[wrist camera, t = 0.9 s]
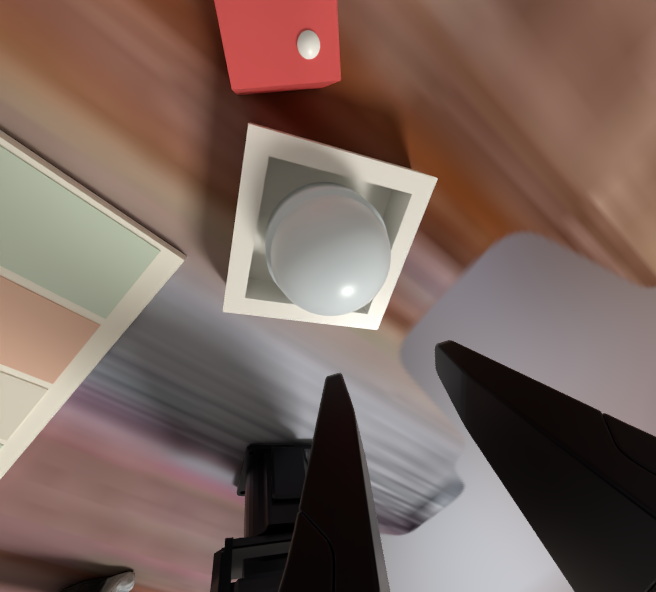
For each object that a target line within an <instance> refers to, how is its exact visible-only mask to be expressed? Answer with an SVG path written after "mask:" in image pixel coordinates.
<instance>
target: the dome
mask: <svg viewBox="0 0 656 592" xmlns="http://www.w3.org/2000/svg"><path fill="white" fill-rule="evenodd" d="M265 250H266V261H267V266H268V269H269V272H270V275H271V277H272V279H273V280H274V282H275V283H276V285H277V286H278V287H279V288H280V289H281V291H282V292H283V293H284V294H285V295H286V297H287V298H288V299H289V300H291V301H292V302H293V303H294V304H295V305H297V306H298V307H300V308H301V309H304V310H306V311H308V312H311V313H314V314H317V315H322V316H338V315H344V314H348V313H351V312H353V311H356V310H358V309H360V308H362V307H363V306H365V305H366V304H367V303H369V302H370V301H371V300H372V299H373V298H374V297H375V296H376V295H377V293H378V292H379V291H380V290H381V288H382V286H383V285H384V283H385V281H386V278H387V275H388V272H389V269H390V263H391V249H390V242H389V238H388V234H387V230H386V227H385V224H384V221H383V219H382V218H381V216H380V214H379V213H378V211H377V210H376V209H375V208H374V207H373V206H372V205H371V204H370V203H369V202H368V201H367V200H365V199H364V198H363V197H362V196H360V195H359V194H358V193H356V192H355V191H353V190H352V189H350V188H348V187H346V186H344V185H341V184H337V183H332V182H316V183H311V184H307V185H304V186H301V187H299V188H297V189H295V190H293V191H292V192H290V193H289V194H288V195H286V196H285V197H284V198H283V199H282V200H281V201H280V202H279V203H278V205H277V206H276V207H275V208H274V210H273V212H272V214H271V215H270V218H269V220H268V223H267V227H266V232H265Z"/></svg>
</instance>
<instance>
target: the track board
mask: <svg viewBox="0 0 656 592" xmlns="http://www.w3.org/2000/svg"><path fill="white" fill-rule="evenodd" d="M185 258H186V255H184V254H183V253H181V252H180V251H178V250H177V249H175V248H174V247H172V246H171V245H169V244H168V243H166V242H165V241H163V240H162V239H160V238H159V237H157V236H156V235H155V234H153V233H152V232H150V231H149V230H147V229H146V228H144V227H143V226H141V225H140V224H138V223H137V222H135V221H134V220H132V219H131V218H129V217H128V216H127V215H125V214H124V213H122V212H121V211H119V210H118V209H116V208H115V207H113V206H112V205H110V204H109V203H107V202H106V201H104V200H103V199H101V198H100V197H98V196H97V195H96V194H94V193H93V192H91V191H90V190H88V189H87V188H85V187H84V186H82V185H81V184H79V183H78V182H76V181H75V180H73V179H72V178H70V177H69V176H67V175H66V174H65V173H63V172H62V171H60V170H59V169H57V168H56V167H54V166H53V165H51V164H50V163H48V162H47V161H45V160H44V159H42V158H41V157H39V156H38V155H36V154H35V153H34V152H32V151H31V150H29V149H28V148H26V147H25V146H23V145H22V144H20V143H19V142H17V141H16V140H14V139H13V138H11V137H10V136H8V135H7V134H6V133H4V132H3V131H1V130H0V479H1V478H2V477H3V475H4V474H5V473H6V472H7V471H8V469H9V468H10V467H11V466H12V465H13V463H14V462H15V461H16V460H17V459H18V458H19V456H20V455H21V454H22V453H23V452H24V450H25V449H26V448H27V447H28V446H29V444H30V443H31V442H32V441H33V440H34V439H35V437H36V436H37V435H38V434H39V433H40V431H41V430H42V429H43V428H44V427H45V425H46V424H47V423H48V422H49V421H50V420H51V418H52V417H53V416H54V415H55V414H56V412H57V411H58V410H59V409H60V408H61V406H62V405H63V404H64V403H65V402H66V401H67V399H68V398H69V397H70V396H71V395H72V393H73V392H74V391H75V390H76V389H77V387H78V386H79V385H80V384H81V383H82V382H83V380H84V379H85V378H86V377H87V376H88V374H89V373H90V372H91V371H92V370H93V368H94V367H95V366H96V365H97V364H98V363H99V361H100V360H101V359H102V358H103V357H104V355H105V354H106V353H107V352H108V351H109V349H110V348H111V347H112V346H113V345H114V344H115V342H116V341H117V340H118V339H119V338H120V336H121V335H122V334H123V333H124V332H125V330H126V329H127V328H128V327H129V326H130V325H131V323H132V322H133V321H134V320H135V319H136V317H137V316H138V315H139V314H140V313H141V311H142V310H143V309H144V308H145V307H146V306H147V304H148V303H149V302H150V301H151V300H152V298H153V297H154V296H155V295H156V294H157V292H158V291H159V290H160V289H161V288H162V287H163V285H164V284H165V283H166V282H167V281H168V279H169V278H170V277H171V276H172V275H173V273H174V272H175V271H176V270H177V269H178V268H179V266H180V265H181V264H182V263H183V262H184V260H185Z"/></svg>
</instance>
